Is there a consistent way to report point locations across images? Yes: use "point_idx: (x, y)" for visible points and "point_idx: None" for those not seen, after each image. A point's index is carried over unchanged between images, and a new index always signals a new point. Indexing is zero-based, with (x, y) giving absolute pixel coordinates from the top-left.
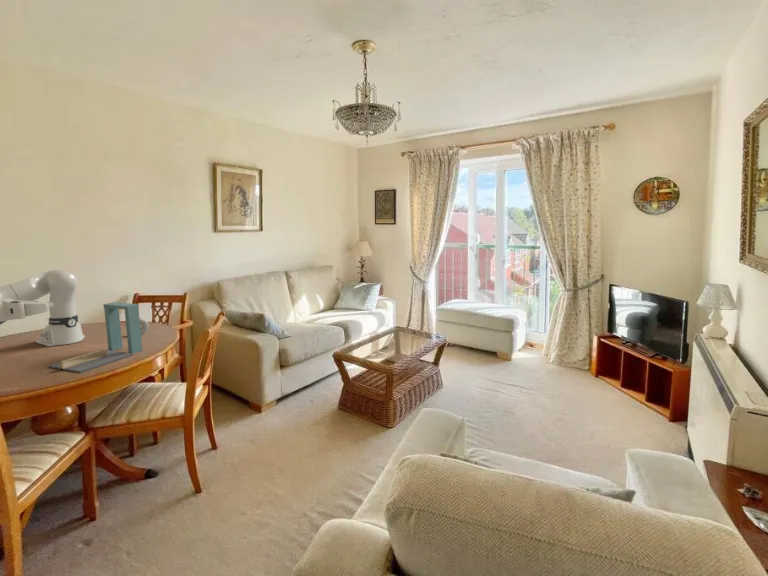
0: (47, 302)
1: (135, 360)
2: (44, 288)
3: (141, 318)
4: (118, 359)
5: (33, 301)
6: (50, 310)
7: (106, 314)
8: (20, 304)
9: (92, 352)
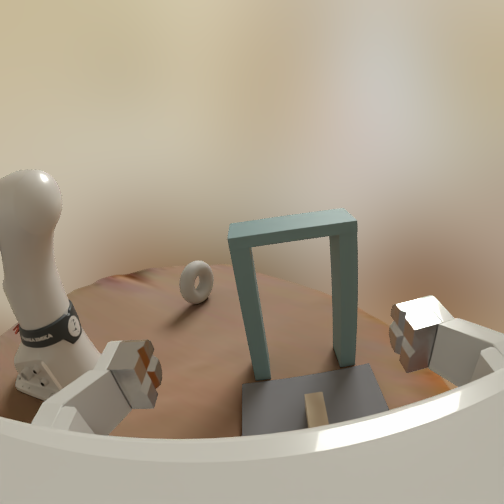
0: (427, 322)
1: (424, 377)
2: None
3: (200, 262)
4: (383, 399)
5: (389, 420)
6: (16, 309)
7: (243, 274)
8: None
9: (312, 423)
